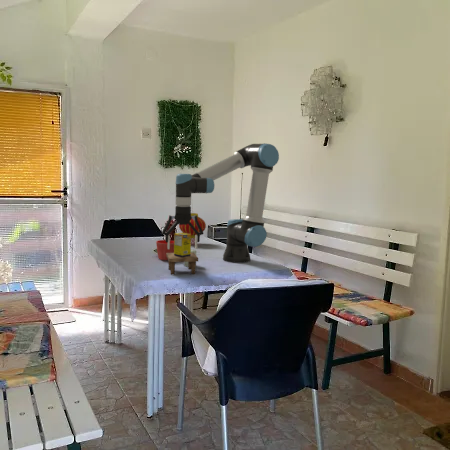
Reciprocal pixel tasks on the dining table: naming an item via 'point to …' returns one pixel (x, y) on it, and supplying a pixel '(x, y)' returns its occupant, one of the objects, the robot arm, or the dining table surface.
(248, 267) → the dining table surface
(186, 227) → the lantern
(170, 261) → the footstool
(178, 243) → the supplement box
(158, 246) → the flower pot
